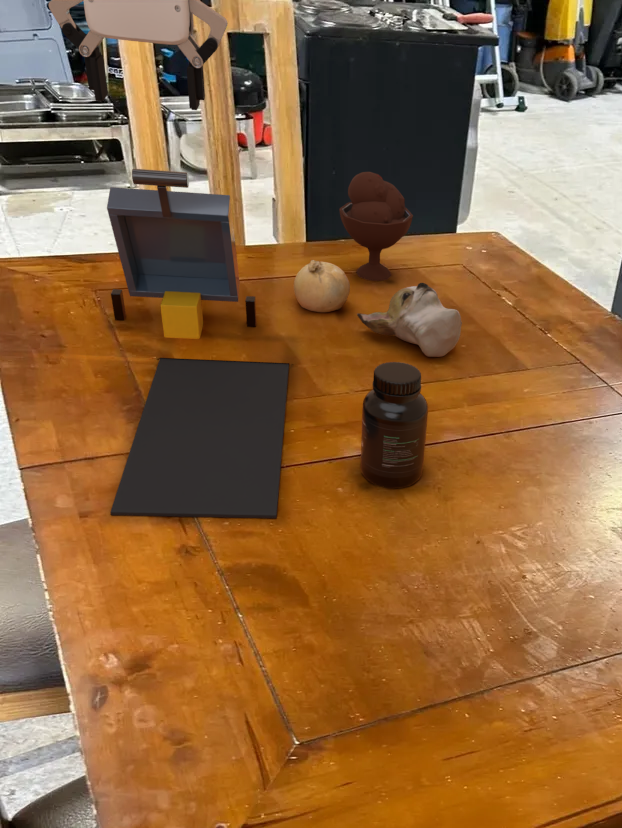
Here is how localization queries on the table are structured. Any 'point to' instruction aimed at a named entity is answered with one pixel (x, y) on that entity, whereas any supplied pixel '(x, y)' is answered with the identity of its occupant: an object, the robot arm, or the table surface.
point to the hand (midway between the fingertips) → (148, 102)
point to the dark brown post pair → (121, 314)
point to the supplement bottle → (394, 427)
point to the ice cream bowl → (375, 220)
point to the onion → (321, 287)
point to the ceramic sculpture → (418, 320)
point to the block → (182, 315)
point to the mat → (207, 441)
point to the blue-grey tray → (174, 238)
